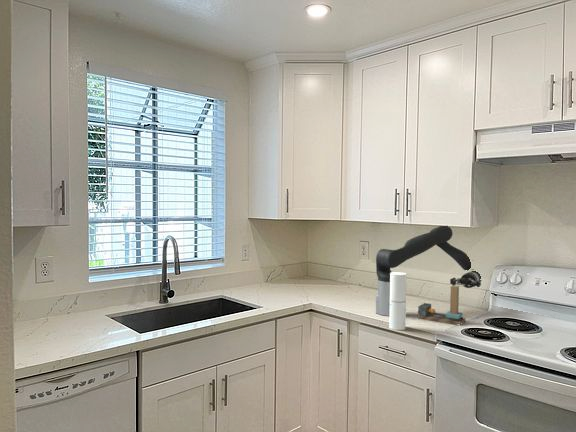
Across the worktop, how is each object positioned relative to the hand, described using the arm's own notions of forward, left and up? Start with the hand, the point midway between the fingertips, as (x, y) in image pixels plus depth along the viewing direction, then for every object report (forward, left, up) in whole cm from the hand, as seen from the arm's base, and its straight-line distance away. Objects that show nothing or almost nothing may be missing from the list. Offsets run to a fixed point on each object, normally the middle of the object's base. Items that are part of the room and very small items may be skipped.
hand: (461, 284), depth 215 cm
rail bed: (-6, -13, -16) cm, 21 cm away
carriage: (0, -13, -13) cm, 19 cm away
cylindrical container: (-18, -39, -17) cm, 46 cm away
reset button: (-11, -13, -14) cm, 22 cm away
